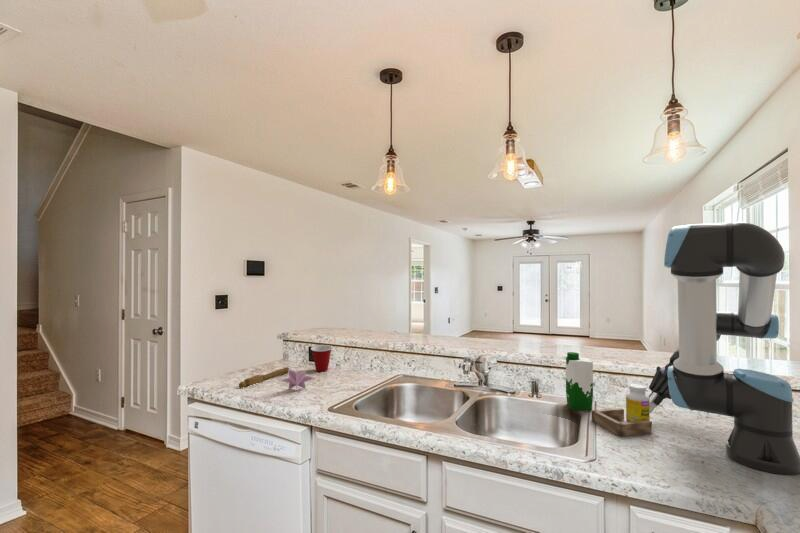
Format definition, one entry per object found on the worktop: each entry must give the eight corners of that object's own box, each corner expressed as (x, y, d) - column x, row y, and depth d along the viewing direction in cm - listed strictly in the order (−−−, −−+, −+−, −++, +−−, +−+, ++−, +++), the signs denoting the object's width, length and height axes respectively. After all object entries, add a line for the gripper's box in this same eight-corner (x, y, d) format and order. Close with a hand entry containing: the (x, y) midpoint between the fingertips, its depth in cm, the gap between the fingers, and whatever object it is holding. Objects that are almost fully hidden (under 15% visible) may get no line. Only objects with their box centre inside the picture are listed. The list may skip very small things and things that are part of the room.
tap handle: (289, 367, 198) (242, 382, 171) (289, 373, 198) (242, 389, 171) (285, 366, 200) (237, 381, 173) (285, 372, 200) (237, 388, 173)
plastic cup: (307, 372, 197) (307, 348, 197) (315, 367, 208) (315, 344, 208) (328, 373, 196) (328, 349, 196) (335, 368, 206) (335, 345, 206)
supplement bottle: (642, 430, 127) (642, 390, 127) (622, 423, 133) (621, 385, 133) (653, 426, 130) (653, 386, 130) (633, 419, 136) (633, 382, 136)
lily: (317, 392, 169) (315, 370, 174) (303, 389, 159) (301, 365, 164) (293, 399, 172) (291, 377, 176) (277, 396, 162) (276, 373, 166)
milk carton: (564, 402, 153) (563, 350, 154) (589, 404, 152) (589, 351, 152) (568, 410, 145) (568, 355, 145) (595, 412, 143) (595, 356, 143)
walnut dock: (620, 417, 137) (620, 407, 137) (651, 433, 125) (651, 421, 125) (591, 420, 135) (591, 410, 135) (620, 436, 122) (620, 425, 122)
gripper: (711, 369, 131) (670, 424, 128) (676, 360, 144) (638, 410, 140) (698, 354, 130) (655, 409, 127) (664, 346, 143) (624, 396, 139)
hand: (646, 410), depth 133 cm, fingers closed
